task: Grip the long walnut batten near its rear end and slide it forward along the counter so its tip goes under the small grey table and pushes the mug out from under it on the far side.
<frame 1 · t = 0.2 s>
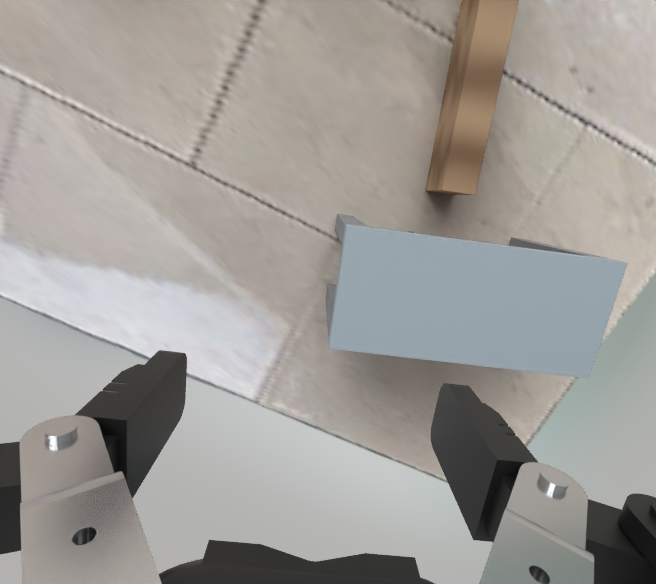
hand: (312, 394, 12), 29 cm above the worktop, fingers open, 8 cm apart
batten: (459, 90, 36), on the worktop
small grey table: (424, 269, 40), on the worktop
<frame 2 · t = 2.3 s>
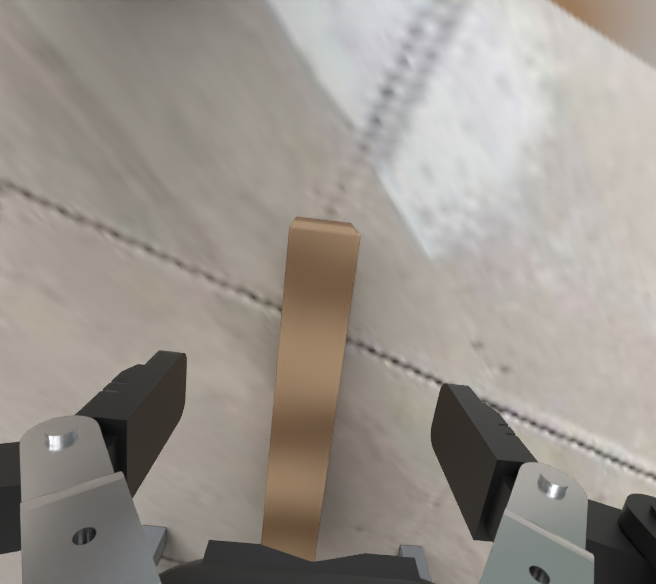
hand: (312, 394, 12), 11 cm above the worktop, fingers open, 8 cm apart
batten: (306, 371, 24), on the worktop
small grey table: (279, 583, 28), on the worktop
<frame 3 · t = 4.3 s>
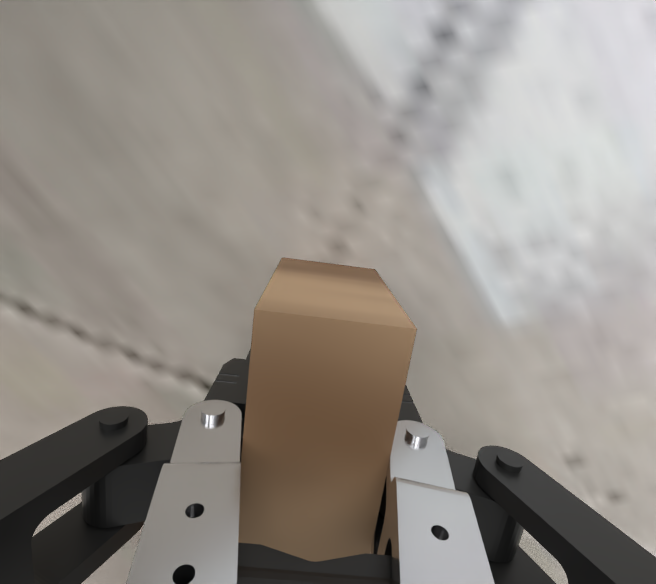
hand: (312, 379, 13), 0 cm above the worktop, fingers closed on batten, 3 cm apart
batten: (296, 502, 15), on the worktop, touching gripper
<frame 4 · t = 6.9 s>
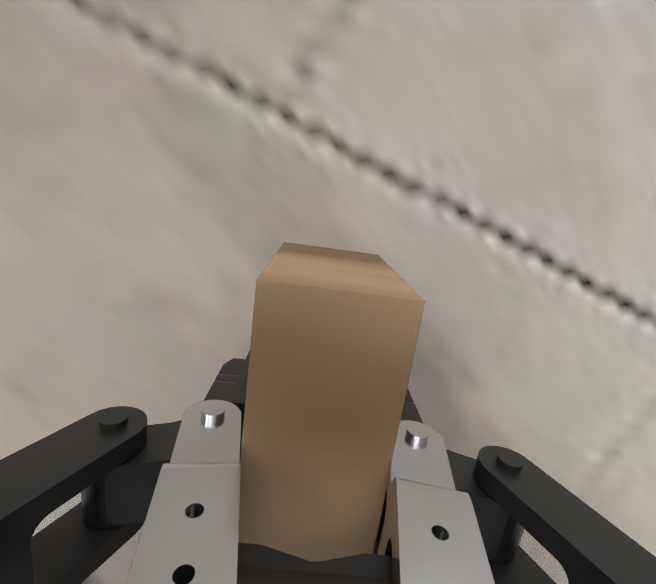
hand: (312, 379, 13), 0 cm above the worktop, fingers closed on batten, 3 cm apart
batten: (296, 497, 14), on the worktop, touching gripper, mug
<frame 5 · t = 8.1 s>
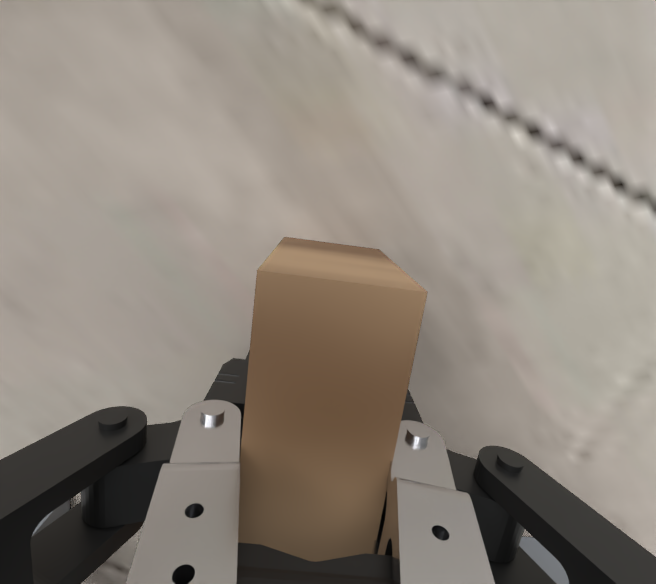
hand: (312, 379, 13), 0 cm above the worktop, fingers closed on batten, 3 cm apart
batten: (297, 494, 14), on the worktop, touching gripper, mug
when the fingers open (0 cm above the worktop, at t = 9.0 s): batten stays where it is, on the worktop.
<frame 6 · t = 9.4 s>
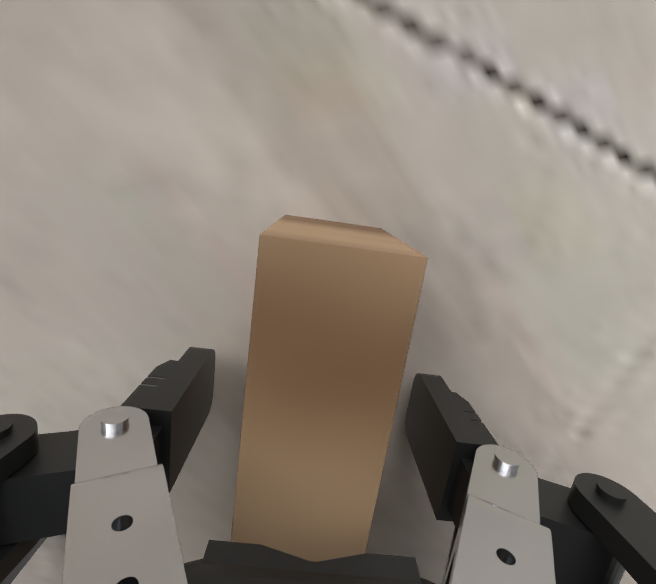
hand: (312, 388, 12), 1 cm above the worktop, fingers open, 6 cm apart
batten: (297, 471, 14), on the worktop
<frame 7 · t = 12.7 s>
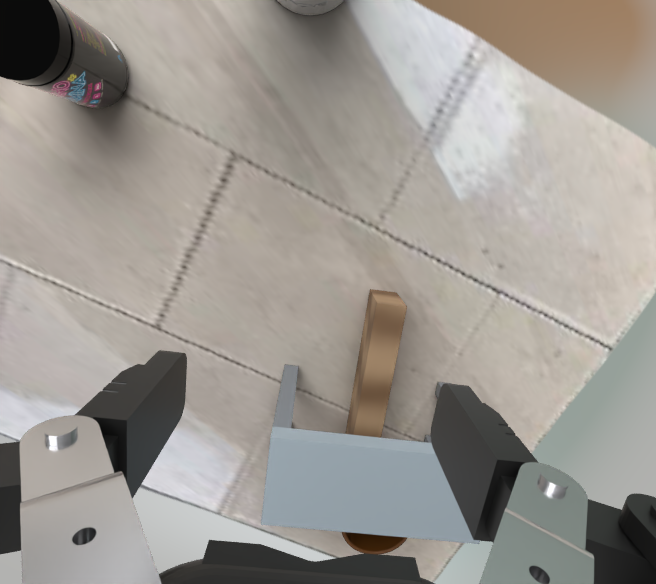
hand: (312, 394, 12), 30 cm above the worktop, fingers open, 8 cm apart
supplement container: (96, 72, 36), on the worktop
mug: (351, 455, 48), on the worktop
batten: (369, 367, 45), on the worktop
small grey table: (362, 407, 46), on the worktop
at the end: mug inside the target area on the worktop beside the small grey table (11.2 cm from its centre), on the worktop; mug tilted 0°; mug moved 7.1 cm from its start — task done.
